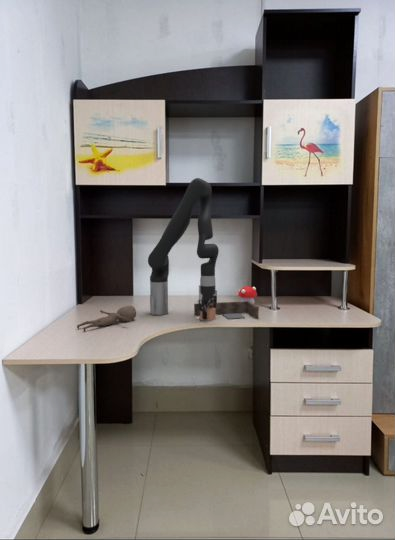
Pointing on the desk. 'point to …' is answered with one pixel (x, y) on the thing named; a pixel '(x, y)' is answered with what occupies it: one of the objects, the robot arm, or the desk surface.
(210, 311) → the block
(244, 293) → the mushroom
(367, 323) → the desk surface
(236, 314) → the pad
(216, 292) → the sign holder
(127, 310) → the toy
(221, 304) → the brown wooden corner barrier
